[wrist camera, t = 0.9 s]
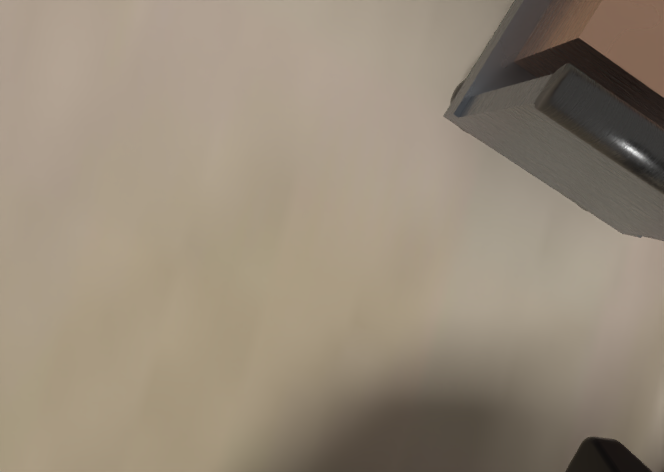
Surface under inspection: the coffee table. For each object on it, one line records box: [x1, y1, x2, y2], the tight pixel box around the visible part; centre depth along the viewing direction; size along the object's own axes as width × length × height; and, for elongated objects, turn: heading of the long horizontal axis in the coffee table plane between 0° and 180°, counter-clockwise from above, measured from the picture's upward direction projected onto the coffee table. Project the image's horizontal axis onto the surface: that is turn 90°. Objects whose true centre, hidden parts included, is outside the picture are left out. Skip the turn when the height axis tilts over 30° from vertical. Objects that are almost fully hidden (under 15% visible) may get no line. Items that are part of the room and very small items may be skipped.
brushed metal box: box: [444, 0, 664, 241], centre depth 19 cm, size 9×8×10 cm
